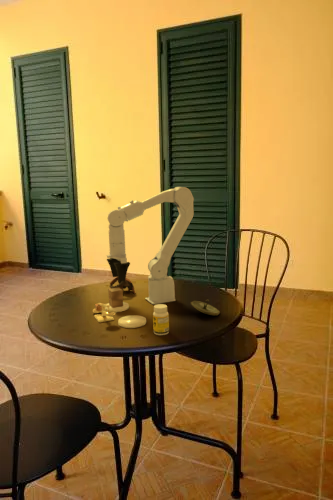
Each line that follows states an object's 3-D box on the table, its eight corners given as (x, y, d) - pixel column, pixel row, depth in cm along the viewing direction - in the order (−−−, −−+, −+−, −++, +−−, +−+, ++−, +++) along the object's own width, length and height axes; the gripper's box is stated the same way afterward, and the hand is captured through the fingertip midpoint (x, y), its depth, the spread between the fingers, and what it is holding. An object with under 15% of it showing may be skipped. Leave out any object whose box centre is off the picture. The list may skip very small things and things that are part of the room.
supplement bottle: (153, 330, 125) (152, 303, 124) (168, 329, 126) (167, 303, 124) (153, 336, 121) (153, 308, 119) (169, 335, 121) (169, 308, 120)
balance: (104, 310, 145) (103, 293, 144) (118, 325, 130) (117, 306, 129) (90, 312, 143) (89, 295, 142) (103, 327, 128) (102, 308, 127)
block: (119, 303, 150) (118, 287, 149) (123, 306, 146) (122, 290, 145) (109, 304, 148) (108, 288, 147) (112, 307, 144) (111, 291, 143)
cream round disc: (140, 316, 138) (140, 313, 138) (150, 324, 130) (150, 321, 130) (114, 320, 134) (114, 318, 134) (123, 329, 126) (123, 326, 126)
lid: (189, 309, 144) (189, 295, 143) (217, 308, 145) (217, 294, 144) (192, 319, 134) (192, 304, 133) (222, 318, 134) (222, 303, 133)
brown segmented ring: (137, 296, 163) (127, 281, 159) (117, 307, 163) (106, 292, 160) (135, 281, 174) (125, 267, 170) (115, 292, 174) (106, 277, 170)
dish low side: (124, 303, 153) (124, 300, 153) (132, 309, 145) (132, 307, 145) (100, 306, 149) (100, 304, 149) (107, 313, 141) (107, 311, 141)
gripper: (101, 241, 154) (103, 276, 156) (112, 246, 141) (114, 284, 143) (119, 239, 157) (120, 273, 159) (131, 244, 144) (133, 282, 146)
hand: (118, 278), depth 151 cm, fingers open, 7 cm apart
